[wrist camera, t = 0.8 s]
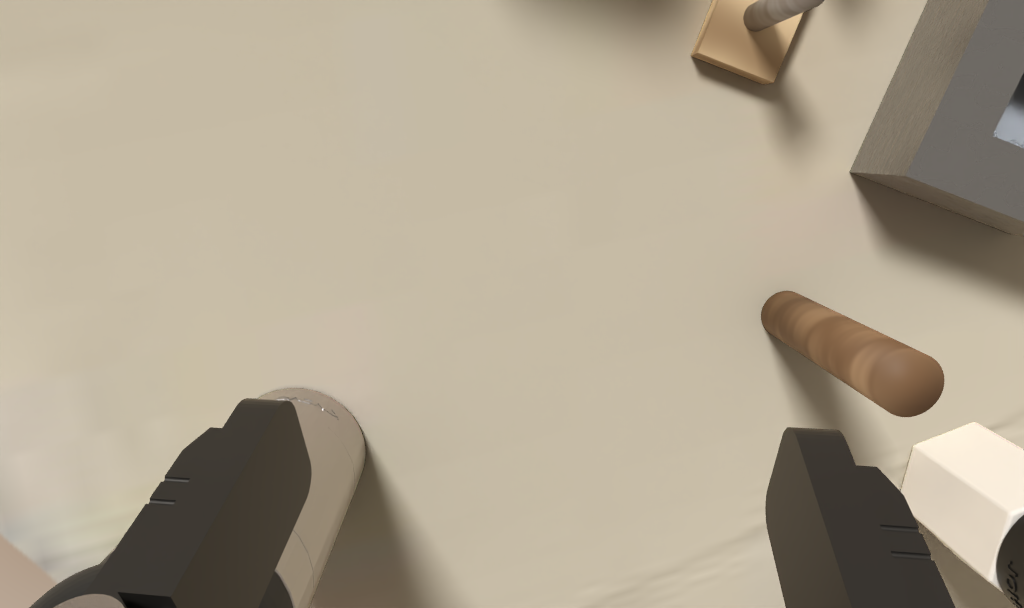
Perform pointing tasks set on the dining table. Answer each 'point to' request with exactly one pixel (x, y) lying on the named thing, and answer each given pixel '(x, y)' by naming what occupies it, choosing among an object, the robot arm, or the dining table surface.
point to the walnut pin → (856, 354)
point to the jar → (973, 501)
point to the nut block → (956, 114)
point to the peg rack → (750, 35)
